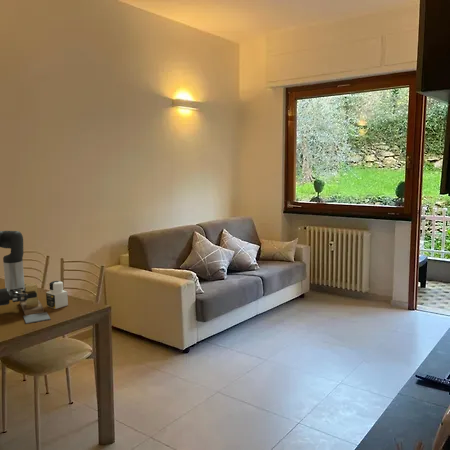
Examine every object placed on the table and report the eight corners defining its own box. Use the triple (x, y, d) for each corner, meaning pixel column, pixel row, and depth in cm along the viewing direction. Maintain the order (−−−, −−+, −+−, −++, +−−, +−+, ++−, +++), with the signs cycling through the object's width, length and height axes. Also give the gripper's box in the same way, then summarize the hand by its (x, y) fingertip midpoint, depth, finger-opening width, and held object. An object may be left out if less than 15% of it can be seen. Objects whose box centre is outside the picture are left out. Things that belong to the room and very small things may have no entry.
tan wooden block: (25, 304, 219) (24, 284, 217) (36, 303, 221) (35, 282, 220) (27, 307, 214) (25, 286, 213) (38, 305, 217) (37, 285, 215)
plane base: (19, 303, 227) (18, 287, 226) (37, 300, 231) (36, 285, 230) (25, 315, 210) (23, 298, 209) (43, 312, 214) (42, 295, 213)
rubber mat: (23, 316, 208) (23, 315, 208) (46, 313, 213) (46, 312, 213) (26, 323, 199) (25, 322, 199) (50, 319, 204) (50, 318, 204)
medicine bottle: (46, 306, 222) (45, 282, 221) (59, 302, 228) (58, 279, 226) (55, 309, 218) (53, 284, 216) (68, 305, 224) (66, 281, 222)
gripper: (-3, 293, 203) (37, 288, 211) (-5, 286, 215) (32, 281, 223) (-1, 310, 204) (38, 304, 212) (-4, 301, 216) (33, 296, 224)
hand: (35, 292), depth 218 cm, fingers open, 8 cm apart
